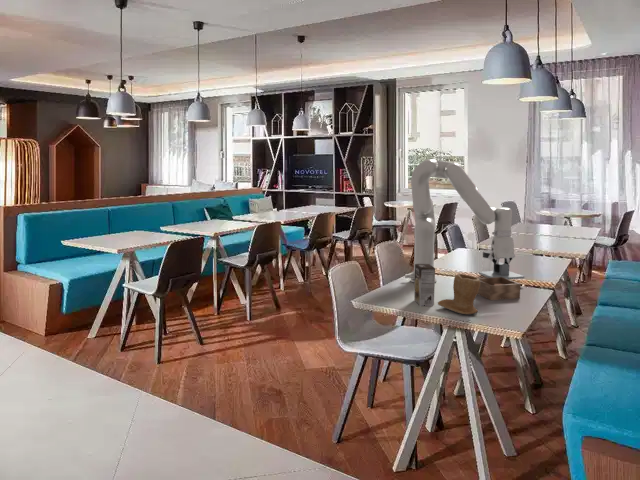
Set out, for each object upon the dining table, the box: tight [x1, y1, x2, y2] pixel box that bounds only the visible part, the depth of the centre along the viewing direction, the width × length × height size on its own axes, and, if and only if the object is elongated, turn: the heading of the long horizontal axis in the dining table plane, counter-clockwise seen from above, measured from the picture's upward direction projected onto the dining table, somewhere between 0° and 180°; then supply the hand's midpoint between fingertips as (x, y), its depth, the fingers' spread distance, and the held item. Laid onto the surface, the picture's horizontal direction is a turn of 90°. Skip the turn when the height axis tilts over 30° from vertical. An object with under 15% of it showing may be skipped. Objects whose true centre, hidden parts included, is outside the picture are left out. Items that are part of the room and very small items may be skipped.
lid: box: [478, 261, 525, 280], centre depth 258 cm, size 15×15×6 cm
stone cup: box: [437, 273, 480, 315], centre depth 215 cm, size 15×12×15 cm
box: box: [477, 277, 521, 301], centre depth 237 cm, size 14×14×7 cm
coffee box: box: [413, 264, 436, 307], centre depth 227 cm, size 9×6×16 cm
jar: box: [481, 250, 494, 272], centre depth 281 cm, size 9×8×12 cm
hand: (501, 271), depth 258 cm, fingers closed on lid, 4 cm apart
